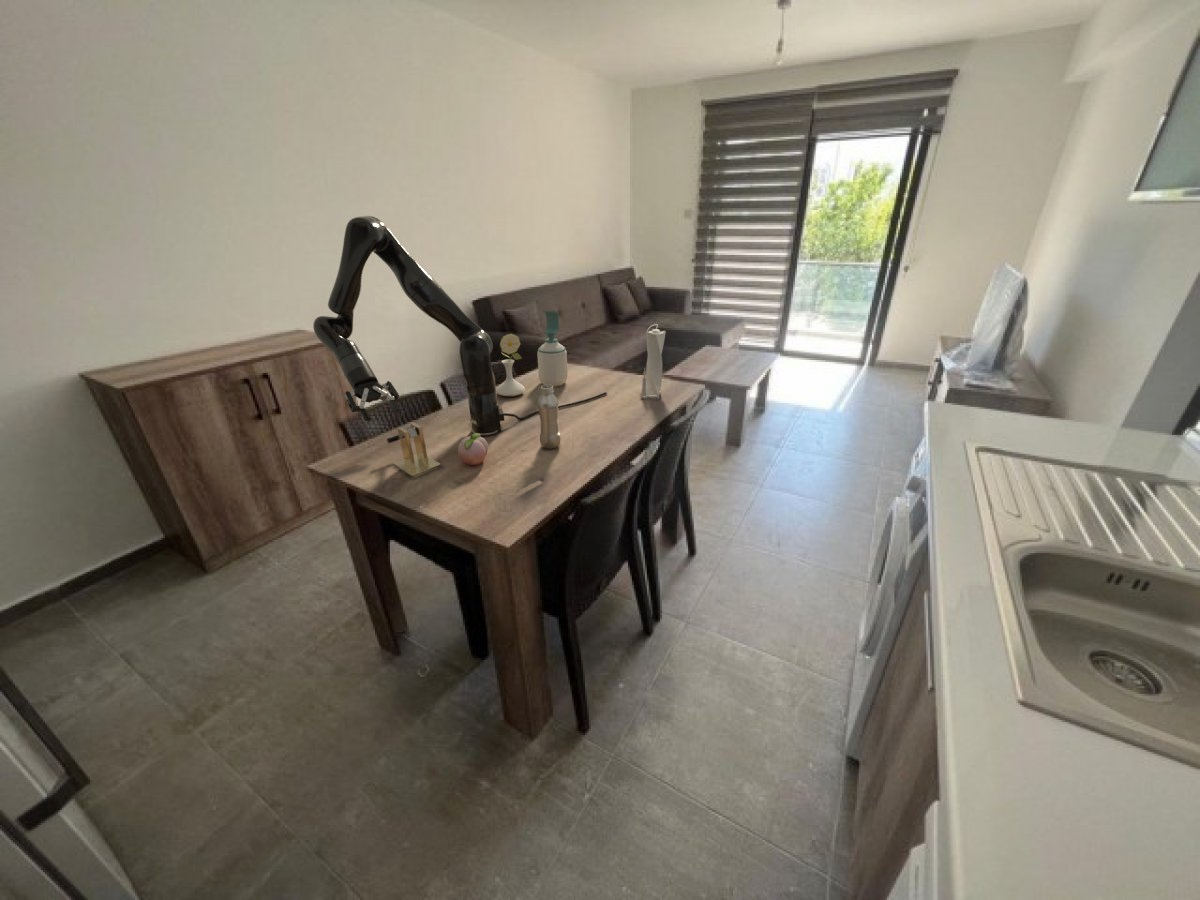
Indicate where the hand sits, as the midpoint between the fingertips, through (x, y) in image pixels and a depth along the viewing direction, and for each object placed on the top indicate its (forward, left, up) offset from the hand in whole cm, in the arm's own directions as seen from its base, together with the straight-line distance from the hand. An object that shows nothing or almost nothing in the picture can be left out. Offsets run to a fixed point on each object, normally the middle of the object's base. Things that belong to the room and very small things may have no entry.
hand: (383, 416), depth 144 cm
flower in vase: (-44, -39, -12) cm, 60 cm away
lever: (-6, +10, -4) cm, 13 cm away
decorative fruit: (-24, +18, -12) cm, 32 cm away
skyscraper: (-97, -19, -12) cm, 99 cm away
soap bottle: (-63, -47, -12) cm, 80 cm away
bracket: (-8, +14, -12) cm, 20 cm away
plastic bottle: (-48, +13, -12) cm, 51 cm away
